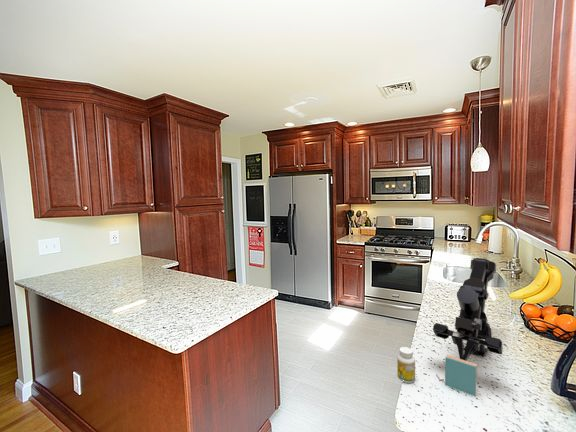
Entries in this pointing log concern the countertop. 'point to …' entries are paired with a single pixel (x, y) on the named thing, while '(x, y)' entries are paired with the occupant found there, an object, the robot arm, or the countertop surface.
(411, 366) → the supplement bottle
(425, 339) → the countertop surface
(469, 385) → the tile
